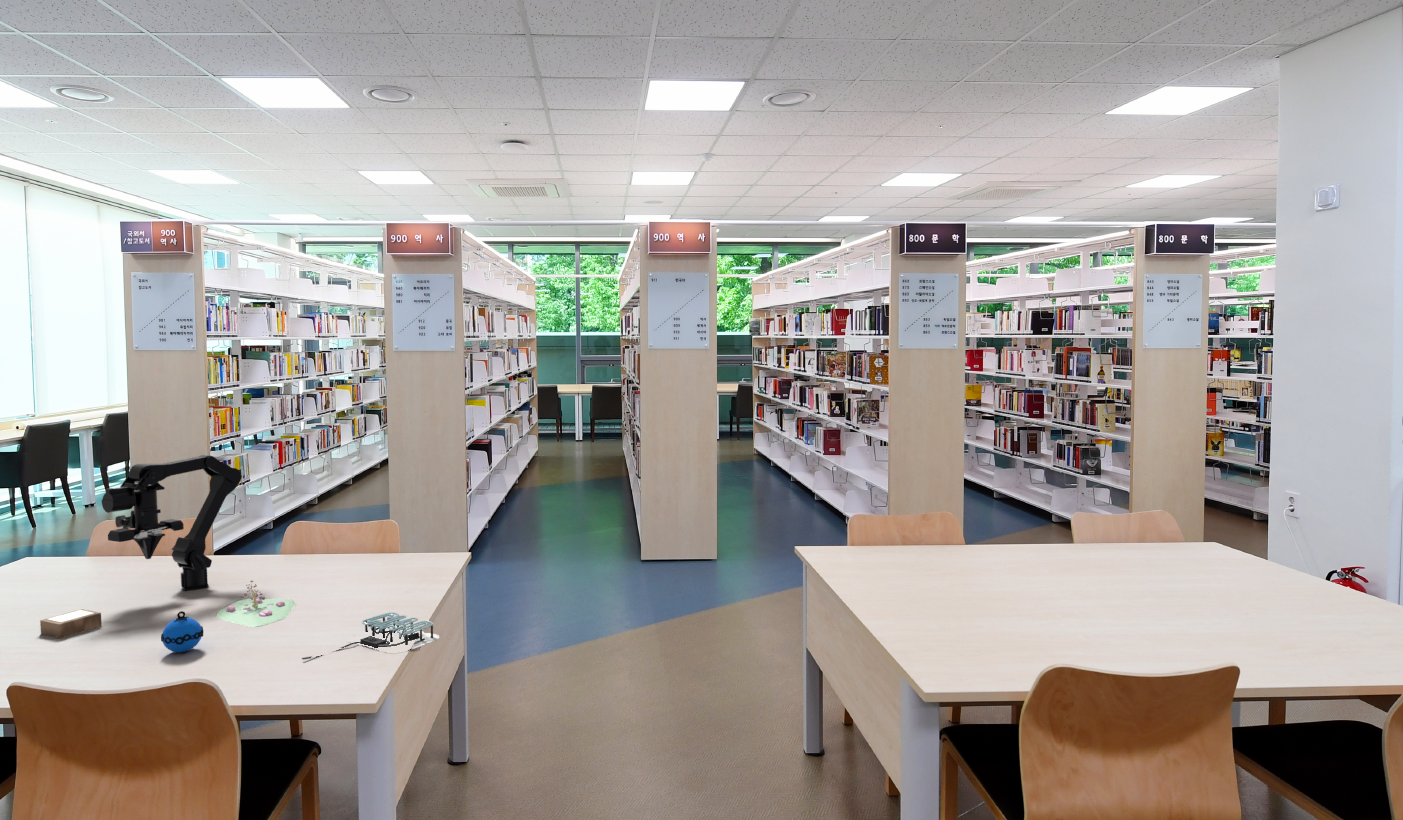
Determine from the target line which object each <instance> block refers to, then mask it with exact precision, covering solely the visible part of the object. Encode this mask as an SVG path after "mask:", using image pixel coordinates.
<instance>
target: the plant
mask: <svg viewBox="0 0 1403 820" xmlns="http://www.w3.org/2000/svg"><path fill="white" fill-rule="evenodd" d="M253 582H254V580H250V583H251V584H245V586H247V588H246V589H248V590H247V591H246V593H244V595H242V596H240V597H239V598H240V600H237V601H235V602H233V603H231V604H229V605H227V606H226V607H224V608H222V609H221V610H219V611H218V612H217V614H216V616H215V617H216V618H217V619H219V620H223V621H226V622H228V623H233V624H236V625H241V626H245V627H249V628H257V627H263V626H266V625H270V624H273V623H275V622H279V621H282V620H284V619H286V618H288V616H289V615H290V613H291V612H292V611H293V609H291V608H292V607H294V606H295V603H296V602H295V601H294V600H292V599H287V598H286V599H284V598H266V597H265V596H263V593H261V591H259V590H256V589H255V588H256V587H258V585H257V584H254V585H252V584H253ZM252 588H254V589H252ZM249 592H250V593H251V594H250V593H249ZM247 593H248V594H247ZM258 593H259V594H258ZM245 597H246V598H245ZM295 607H296V606H295ZM295 607H294V608H295ZM291 610H292V611H291ZM289 612H290V613H289Z"/></svg>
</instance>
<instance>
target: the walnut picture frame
mask: <svg viewBox="0 0 1403 820" xmlns="http://www.w3.org/2000/svg"><path fill="white" fill-rule="evenodd" d="M39 623H40V635H42V636H47V637H50V638H51V637H52V638H56V639H63V638H67V637H71V636H74V635H76V634H81V633H84V632H87V631H91V630H94V629H98V628H101V627H102V612H98V611H93V610H90V609H78V610H73V611H71V612H67V613H63V614H59V615H55V616H51V617H47V618H43V619H40V620H39Z"/></svg>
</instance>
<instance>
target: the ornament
mask: <svg viewBox="0 0 1403 820" xmlns="http://www.w3.org/2000/svg"><path fill="white" fill-rule="evenodd" d="M181 614H182V615H181ZM176 616H177V617H176V618H174V619H173V620H171V621H169V622H168V623H167V624H166V626H165V627H164V629H163V630H162V633H160V634H161V635H160V641H161V642H162V644H163V645H164V647H165V648H166V649H168V650H169V651H171V652H173V653H179V654H181V653H186V652H188V651H191V650H192V649H194V648H195V647H196V646H197V645H199V643H200V641H201V640H202V637H204V629H203V628H204V626H203V625H201V624H200V623H199V621H198V620H196V619H195V618H193V617H189V616H186V612H185V611H182V610H181V611H179V612H177V615H176Z"/></svg>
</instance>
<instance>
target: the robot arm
mask: <svg viewBox="0 0 1403 820" xmlns="http://www.w3.org/2000/svg"><path fill="white" fill-rule="evenodd" d="M199 470H202V471H204V472H205V474H206V475H208V476H209V477H210V480H209V492H208V495H207V497H206V498H205V500H204V503H203V505H202V507H201V508H200V510H199V513H198V514H197V516H196V519H194V520H195V521H194V522H193V524H192V527H191V528H190V529H189V532H188V534H186V535H185V536H184V537H180V536H178V537H177V539H176V542H175V545H174V546H173V547H172V548H171V550H172V553H171V557H172V559H173V561H174V562H175V563H177V566H178V567H179V568H181V569H182V572H180V586H181V588H183V591H191V590H197V589H198V590H199V589H203V588H209V587H210V586H209V585H210V584H209V582H208V568H210V567H211V565H212V562H213V560H212V559H211V558H209V557H208V556H206V555H205V551H206V548H207V547H206V546H207V545H206V538H207V536H208V534H209V532H210V530H211V528H212V527H213V524H214V523H215V520H216V518H217V516H218V514H219V511H220V510H221V509H222V508H221V507H222V506H223V503H224V502H225V500H226V498H227V497H228V496H229V494H231V493H233V491H234V490H236V488H237V487H238V485H240V482H241V481H242V478H243V477H242V476H243V475H242V473H241V471H240V469H238V468H236V467H231V466H230V465H229V464H226V463H225V462H222V461H220V460H219V459H217V458H216V457H215V456H214V455H207V454H201V455H199V456H195V457H189V458H185V459H184V458H183V459H178V460H173V461H168V462H163V463H136V464H133V465H132V466H131V468H130V469H129V472H128V475H126V478H125V479H124V480H123V482H122V484H120V487H115V488H114V487H113V488H112V487H111V488H110V487H109V488H105V493H104V494H103V496H102V499H101V507H102V509H103V510H104V512H105V513H108V514H109V513H115V512H116V513H117V512H122V511H128V510H131V509H132V508H133V510H131V511H130V516H126V515H125V514H122V515H118V516H115V520H114V521H115V523H114V524H115V526H116V528H117V529H112V530H109V532H108V533H107V541H110V542H116V543H118V542H119V543H123V542H128V541H132V540H133V541H134V542H136V543H137V545H138V546H139V548H140V550H141V552H142V554H143V556H144V558H145V559H146V560H150V559H152V557H153V555H154V552H155V551H156V549H157V547H158V544H159V543H160V541H161V540H162V538H163V537H165V536H166V533H163V531H165V530H169V529H170V530H172V531H174V532H176V531H182V530H184V522H183V521H182V520H181V519H180V520H179V519H174V518H173V519H172V518H169V519H164V520H160V521H159V514H160V513H161V508H160V509H158V493H157V491H162V490H165V489H166V488H165V487H164V486H163V485H161V484H160V483H159V482H162V481H164V480H165V479H167V478H169V477H172V476H177V475H181V474H185V473H186V474H187V473H190V472H195V471H199Z"/></svg>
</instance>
